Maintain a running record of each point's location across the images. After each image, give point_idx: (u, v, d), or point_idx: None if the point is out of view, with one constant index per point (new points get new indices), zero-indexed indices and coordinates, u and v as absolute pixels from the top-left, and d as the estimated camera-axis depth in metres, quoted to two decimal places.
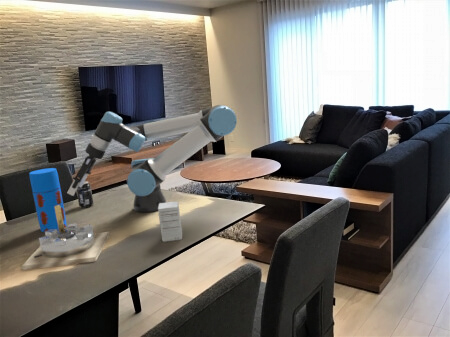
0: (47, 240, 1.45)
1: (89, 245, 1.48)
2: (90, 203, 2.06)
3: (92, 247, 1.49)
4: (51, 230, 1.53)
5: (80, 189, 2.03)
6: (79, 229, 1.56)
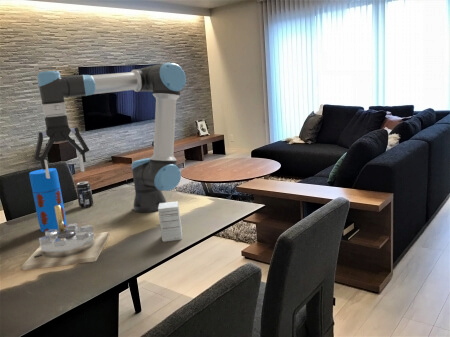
0: (47, 240, 1.45)
1: (89, 245, 1.48)
2: (90, 203, 2.06)
3: (92, 247, 1.49)
4: (51, 230, 1.53)
5: (80, 189, 2.03)
6: (79, 229, 1.56)
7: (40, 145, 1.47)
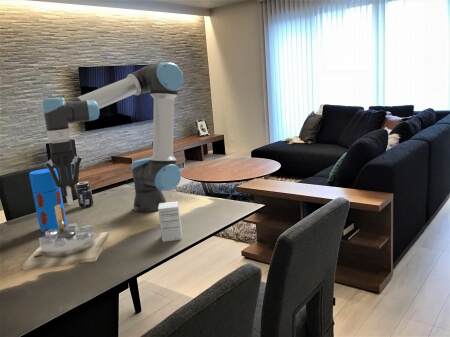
0: (47, 240, 1.45)
1: (89, 245, 1.48)
2: (90, 203, 2.06)
3: (92, 247, 1.49)
4: (51, 230, 1.53)
5: (80, 189, 2.03)
6: (79, 229, 1.56)
7: (54, 173, 1.51)
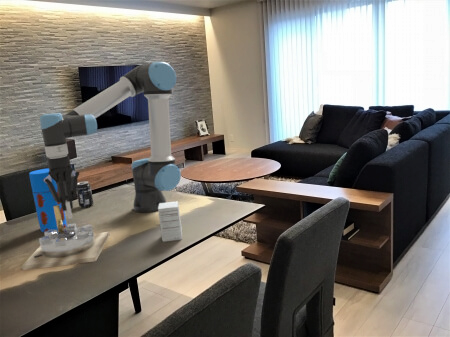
0: (48, 240, 1.45)
1: (90, 245, 1.49)
2: (90, 203, 2.06)
3: (92, 247, 1.49)
4: (50, 230, 1.53)
5: (80, 189, 2.03)
6: (78, 229, 1.56)
7: (53, 189, 1.51)
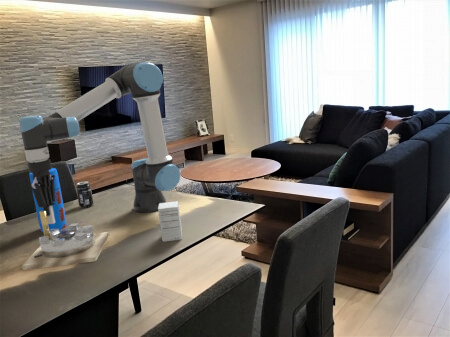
0: (63, 240, 1.44)
1: None
2: (90, 203, 2.06)
3: (92, 247, 1.49)
4: (44, 237, 1.47)
5: (80, 189, 2.03)
6: (62, 231, 1.56)
7: (41, 193, 1.47)
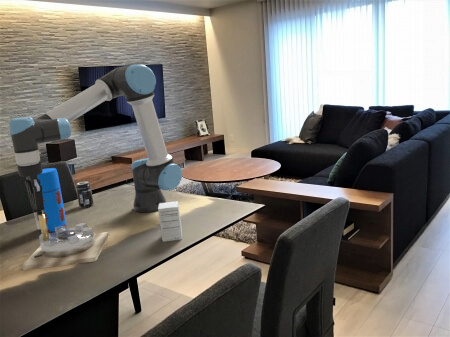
0: None
1: None
2: (90, 203, 2.06)
3: (92, 247, 1.49)
4: (50, 239, 1.44)
5: (80, 189, 2.03)
6: (51, 235, 1.52)
7: None
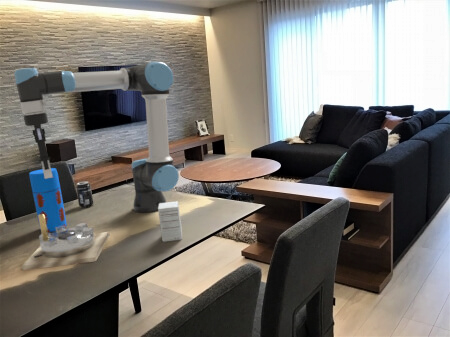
0: None
1: None
2: (90, 203, 2.06)
3: (92, 247, 1.49)
4: (50, 239, 1.44)
5: (80, 189, 2.03)
6: (52, 235, 1.53)
7: (45, 145, 1.48)
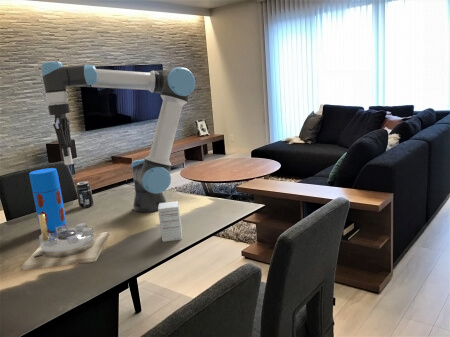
0: None
1: None
2: (90, 203, 2.06)
3: (92, 247, 1.49)
4: (50, 239, 1.44)
5: (80, 189, 2.03)
6: (52, 235, 1.53)
7: (63, 133, 1.59)
